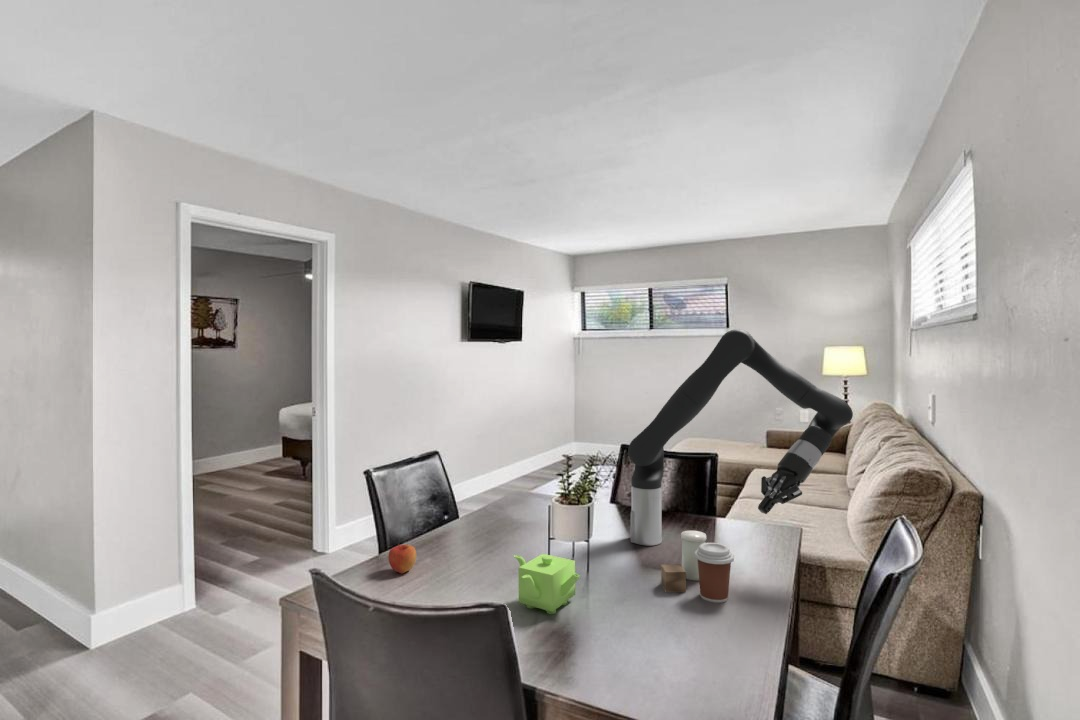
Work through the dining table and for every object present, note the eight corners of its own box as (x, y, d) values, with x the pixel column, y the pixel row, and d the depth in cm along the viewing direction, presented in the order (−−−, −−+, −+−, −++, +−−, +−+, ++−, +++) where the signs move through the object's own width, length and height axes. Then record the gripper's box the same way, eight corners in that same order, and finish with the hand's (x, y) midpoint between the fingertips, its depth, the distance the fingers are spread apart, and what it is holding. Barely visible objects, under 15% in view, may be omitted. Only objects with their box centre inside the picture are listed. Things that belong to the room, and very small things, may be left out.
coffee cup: (702, 586, 143) (702, 538, 143) (738, 594, 138) (738, 545, 138) (688, 598, 136) (688, 548, 136) (727, 608, 130) (727, 556, 130)
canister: (681, 579, 147) (681, 537, 147) (681, 570, 154) (681, 529, 153) (706, 581, 146) (706, 539, 146) (706, 572, 152) (705, 531, 152)
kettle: (522, 622, 124) (522, 571, 124) (509, 596, 138) (508, 550, 138) (587, 614, 128) (587, 564, 128) (568, 589, 142) (567, 544, 142)
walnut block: (665, 592, 140) (665, 572, 140) (661, 584, 145) (661, 564, 145) (685, 592, 140) (685, 572, 140) (680, 584, 145) (680, 564, 145)
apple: (422, 569, 155) (421, 540, 155) (404, 578, 148) (404, 548, 148) (400, 565, 158) (400, 536, 158) (382, 574, 152) (382, 544, 151)
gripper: (773, 447, 155) (736, 495, 151) (812, 456, 143) (772, 508, 139) (788, 465, 157) (752, 513, 153) (827, 475, 145) (789, 528, 141)
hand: (761, 511), depth 146 cm, fingers closed
